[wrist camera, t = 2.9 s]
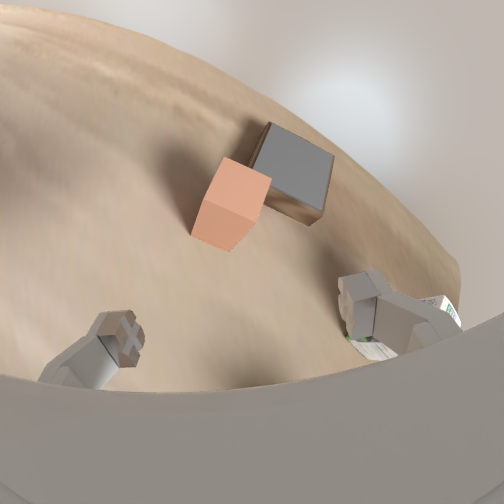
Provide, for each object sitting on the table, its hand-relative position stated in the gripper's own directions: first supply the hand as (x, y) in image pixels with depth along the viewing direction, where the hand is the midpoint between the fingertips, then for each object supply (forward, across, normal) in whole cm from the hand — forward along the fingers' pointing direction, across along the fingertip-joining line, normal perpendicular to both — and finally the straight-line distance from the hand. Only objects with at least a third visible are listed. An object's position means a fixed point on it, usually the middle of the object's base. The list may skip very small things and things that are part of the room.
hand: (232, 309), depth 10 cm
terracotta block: (+23, +4, +5) cm, 24 cm away
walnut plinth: (+31, -6, +3) cm, 32 cm away
